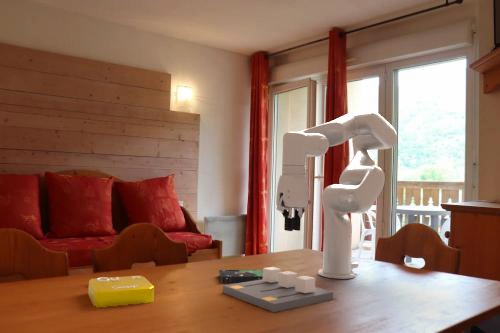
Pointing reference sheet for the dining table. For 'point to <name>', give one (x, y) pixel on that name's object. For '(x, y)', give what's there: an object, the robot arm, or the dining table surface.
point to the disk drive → (240, 275)
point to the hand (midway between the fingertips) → (292, 229)
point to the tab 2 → (287, 279)
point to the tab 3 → (305, 284)
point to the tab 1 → (271, 274)
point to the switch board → (275, 295)
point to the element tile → (120, 291)
